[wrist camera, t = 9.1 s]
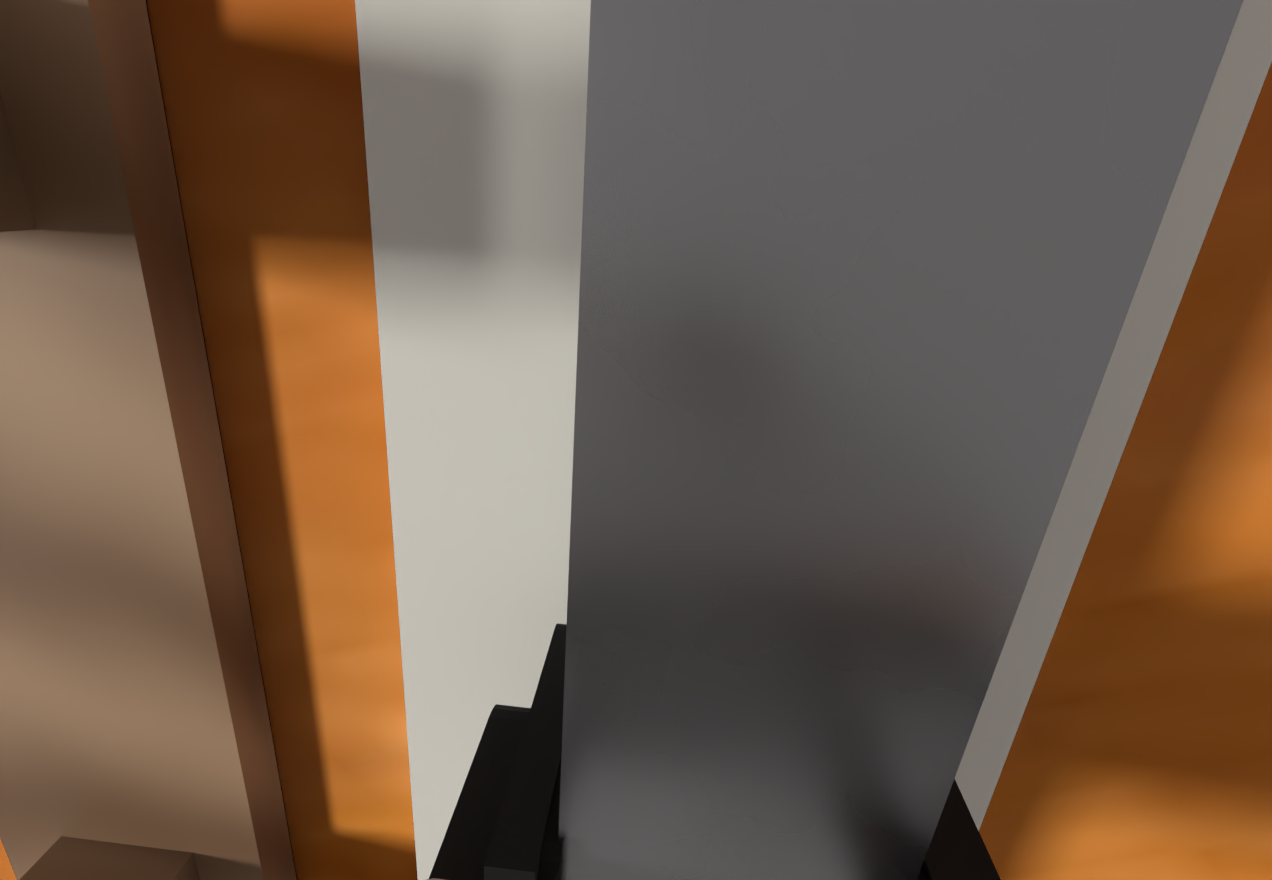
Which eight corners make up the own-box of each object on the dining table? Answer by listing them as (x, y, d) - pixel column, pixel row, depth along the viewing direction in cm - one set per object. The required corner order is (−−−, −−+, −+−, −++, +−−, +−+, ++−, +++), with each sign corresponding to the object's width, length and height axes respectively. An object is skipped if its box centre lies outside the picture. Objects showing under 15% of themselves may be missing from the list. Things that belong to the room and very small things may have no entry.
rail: (715, 1140, 16) (723, 1400, 12) (568, 1120, 16) (537, 1372, 13) (1135, -571, 5) (1964, -1946, 2) (679, -586, 5) (662, -1890, 2)
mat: (852, 1086, 17) (862, 1137, 16) (445, 1031, 18) (431, 1078, 17) (1369, -385, 7) (1475, -474, 6) (364, -429, 7) (317, -520, 6)
